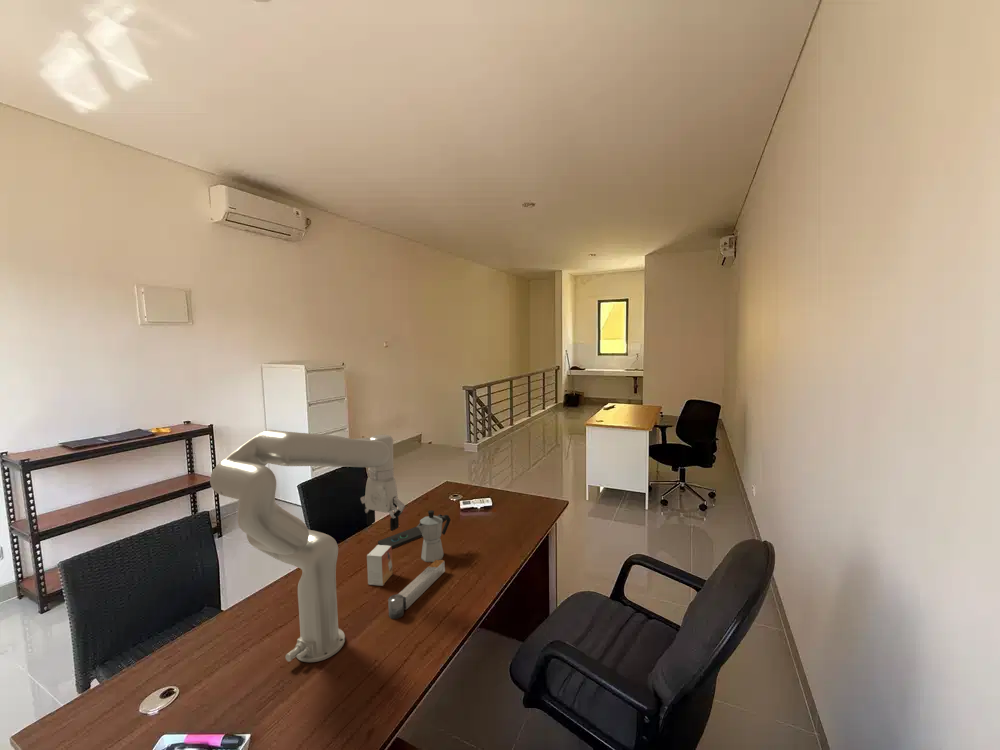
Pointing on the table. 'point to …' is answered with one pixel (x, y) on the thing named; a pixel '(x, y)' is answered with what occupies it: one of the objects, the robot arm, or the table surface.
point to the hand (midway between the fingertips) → (382, 526)
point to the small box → (379, 565)
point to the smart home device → (401, 537)
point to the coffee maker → (433, 536)
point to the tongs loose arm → (423, 584)
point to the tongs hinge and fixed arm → (397, 600)
